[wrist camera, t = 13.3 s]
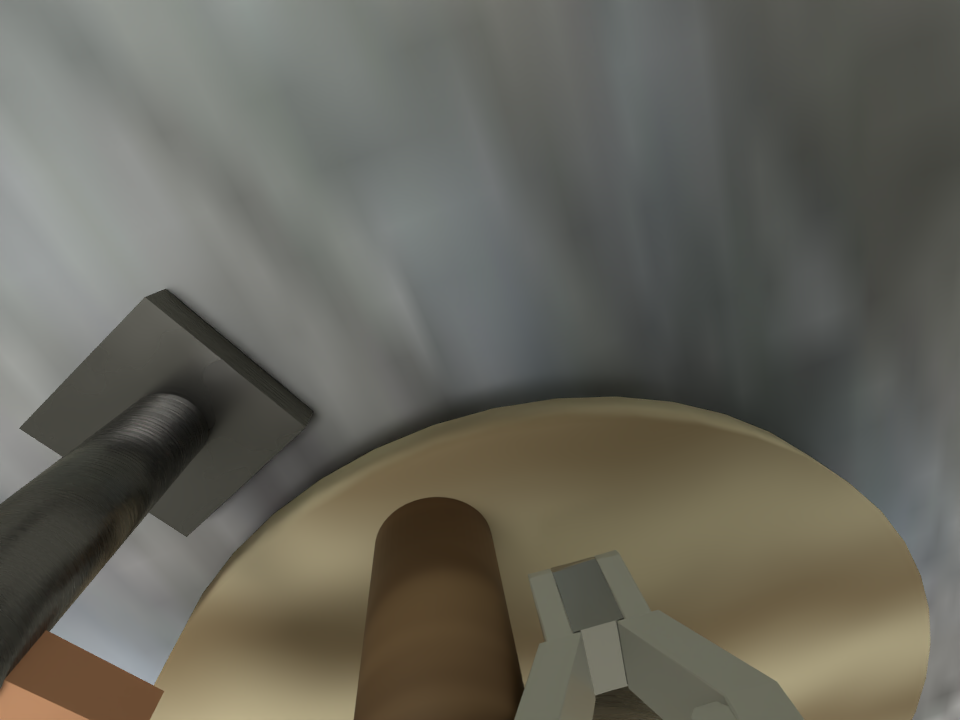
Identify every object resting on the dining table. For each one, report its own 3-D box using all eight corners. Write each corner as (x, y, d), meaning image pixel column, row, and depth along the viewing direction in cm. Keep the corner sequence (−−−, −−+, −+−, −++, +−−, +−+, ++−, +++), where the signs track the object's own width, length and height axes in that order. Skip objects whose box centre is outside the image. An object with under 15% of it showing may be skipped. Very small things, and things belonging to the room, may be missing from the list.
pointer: (47, 411, 13) (-439, 702, 6) (165, 289, 13) (-212, 437, 5) (214, 524, 15) (13, 856, 8) (326, 422, 14) (225, 676, 7)
